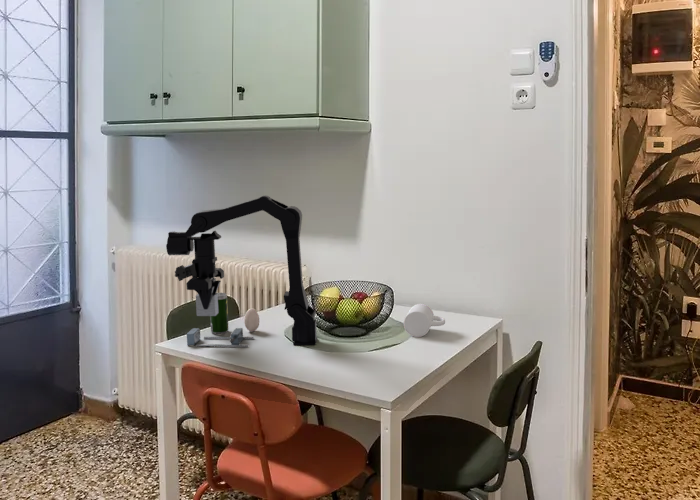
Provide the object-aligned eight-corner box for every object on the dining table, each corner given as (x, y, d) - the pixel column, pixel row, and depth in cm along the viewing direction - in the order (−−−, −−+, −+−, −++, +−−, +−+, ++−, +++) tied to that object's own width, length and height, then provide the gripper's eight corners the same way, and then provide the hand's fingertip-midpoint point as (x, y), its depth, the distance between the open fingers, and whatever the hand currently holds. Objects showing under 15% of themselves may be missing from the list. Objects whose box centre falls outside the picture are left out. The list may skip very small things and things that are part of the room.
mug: (403, 336, 195) (403, 310, 194) (408, 327, 205) (408, 303, 203) (443, 339, 192) (443, 312, 191) (446, 329, 202) (447, 304, 201)
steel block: (200, 312, 191) (199, 293, 190) (218, 312, 191) (217, 293, 190) (196, 316, 188) (195, 295, 187) (215, 315, 188) (214, 295, 187)
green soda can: (214, 335, 198) (213, 297, 196) (208, 331, 202) (206, 294, 201) (231, 332, 201) (229, 294, 199) (224, 328, 205) (222, 291, 203)
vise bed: (253, 338, 194) (253, 327, 194) (247, 347, 186) (247, 335, 185) (194, 338, 195) (193, 327, 195) (186, 346, 187) (185, 335, 186)
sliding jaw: (243, 339, 193) (242, 328, 193) (235, 349, 184) (235, 337, 183) (235, 338, 194) (234, 328, 193) (227, 348, 184) (227, 337, 183)
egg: (254, 334, 199) (253, 310, 198) (241, 332, 201) (240, 309, 200) (262, 330, 203) (262, 307, 202) (250, 328, 205) (249, 305, 204)
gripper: (187, 250, 196) (189, 300, 199) (166, 260, 178) (170, 315, 180) (223, 249, 196) (225, 300, 198) (206, 260, 177) (209, 315, 180)
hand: (207, 307), depth 189 cm, fingers closed on steel block, 3 cm apart
